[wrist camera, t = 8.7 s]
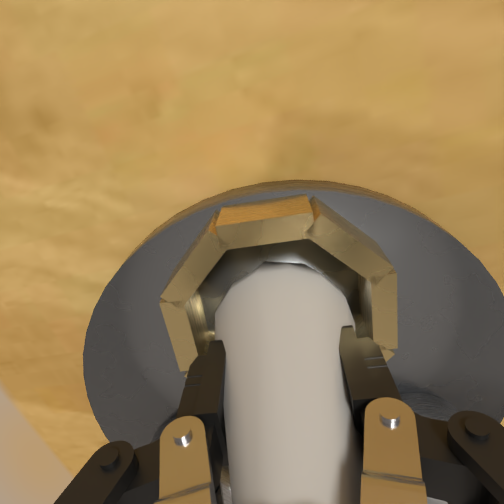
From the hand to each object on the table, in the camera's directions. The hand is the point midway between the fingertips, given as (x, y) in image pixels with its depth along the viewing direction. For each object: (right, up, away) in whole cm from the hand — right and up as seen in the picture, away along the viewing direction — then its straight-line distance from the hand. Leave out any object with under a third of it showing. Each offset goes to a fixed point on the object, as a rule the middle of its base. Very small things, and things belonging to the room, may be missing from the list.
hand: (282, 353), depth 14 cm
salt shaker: (0, +2, +4) cm, 4 cm away
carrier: (+1, -3, +8) cm, 9 cm away
